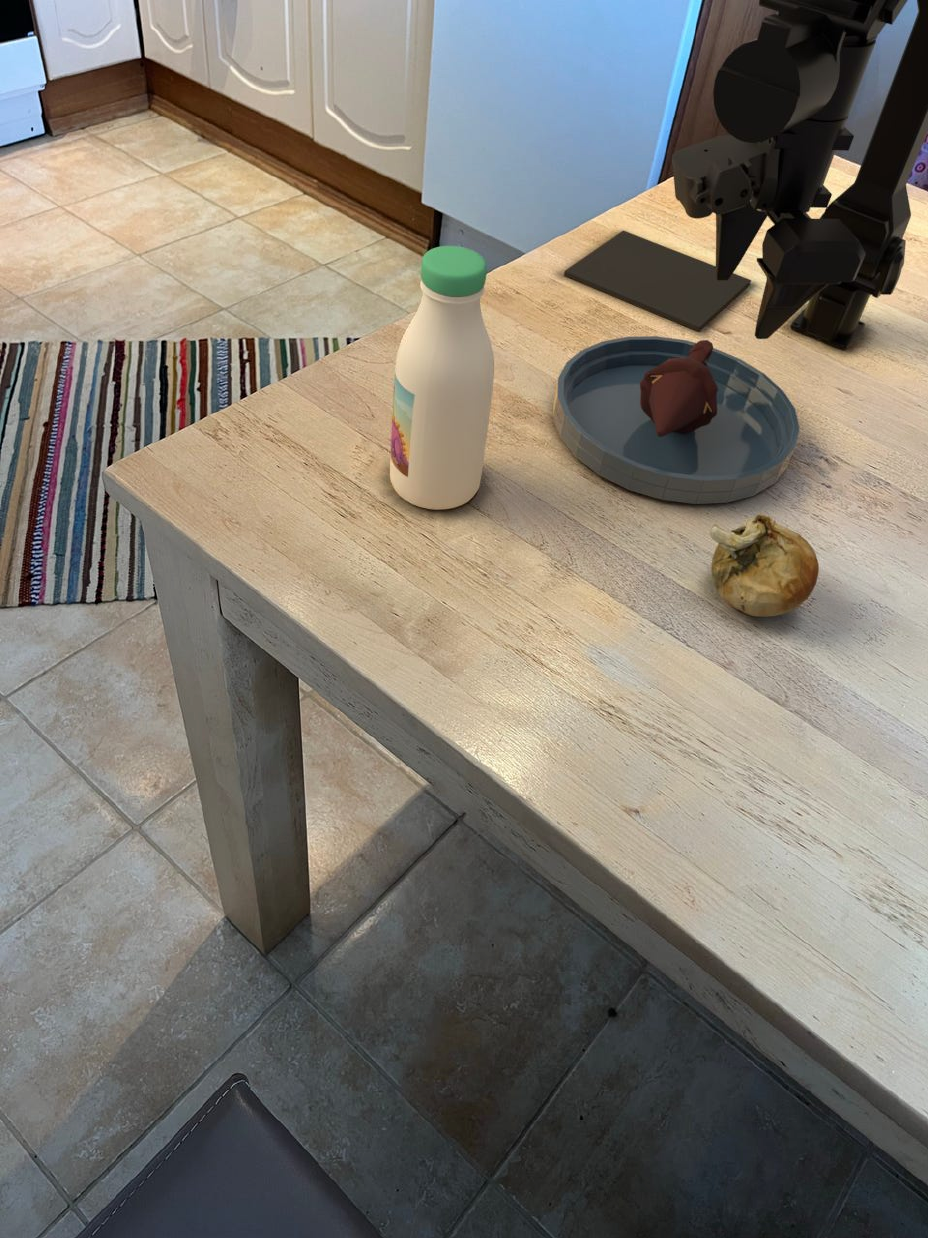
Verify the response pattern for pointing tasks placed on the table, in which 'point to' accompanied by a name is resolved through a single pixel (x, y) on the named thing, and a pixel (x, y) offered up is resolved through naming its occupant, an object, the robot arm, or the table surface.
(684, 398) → the dark red teardrop piece
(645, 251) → the plate
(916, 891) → the table surface
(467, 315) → the milk bottle
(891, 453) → the table surface
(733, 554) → the onion
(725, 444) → the bowl
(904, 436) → the table surface
